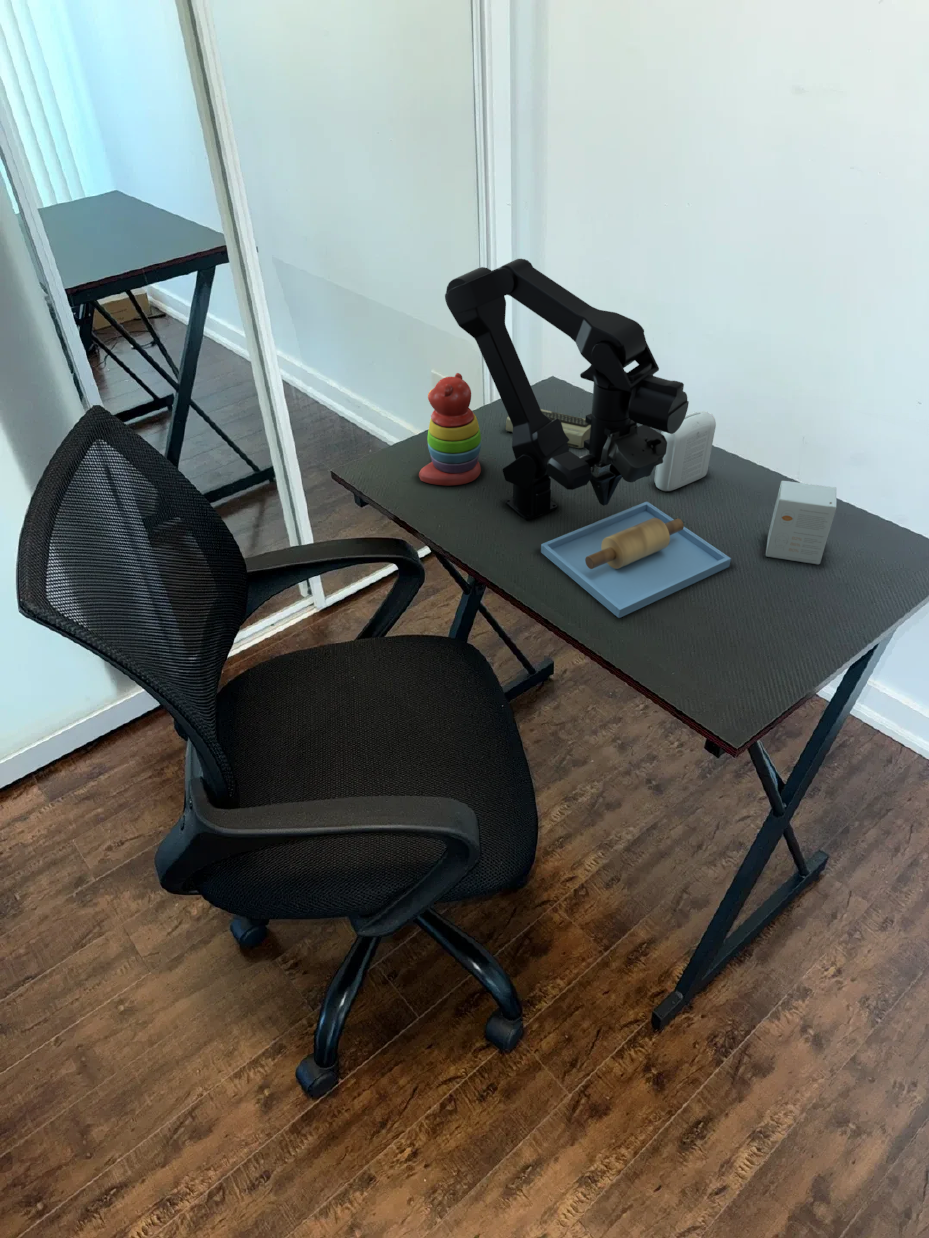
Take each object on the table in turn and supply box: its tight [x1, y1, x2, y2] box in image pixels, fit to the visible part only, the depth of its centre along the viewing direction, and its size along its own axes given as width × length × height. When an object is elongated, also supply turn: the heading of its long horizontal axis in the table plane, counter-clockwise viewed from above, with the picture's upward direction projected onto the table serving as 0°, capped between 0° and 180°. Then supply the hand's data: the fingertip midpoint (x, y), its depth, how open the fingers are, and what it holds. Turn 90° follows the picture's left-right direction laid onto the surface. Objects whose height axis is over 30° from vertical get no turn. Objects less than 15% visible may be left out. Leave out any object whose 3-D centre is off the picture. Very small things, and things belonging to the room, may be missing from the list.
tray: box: [540, 501, 732, 619], centre depth 126 cm, size 19×21×2 cm
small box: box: [765, 480, 837, 565], centre depth 124 cm, size 8×6×10 cm
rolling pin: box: [585, 518, 685, 569], centre depth 125 cm, size 5×18×5 cm, turn 121°
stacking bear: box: [418, 372, 482, 486], centre depth 142 cm, size 11×10×18 cm
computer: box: [505, 408, 591, 449], centre depth 157 cm, size 16×8×3 cm, turn 61°
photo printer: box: [653, 410, 717, 492], centre depth 139 cm, size 10×4×12 cm, turn 123°
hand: (603, 504), depth 128 cm, fingers closed
